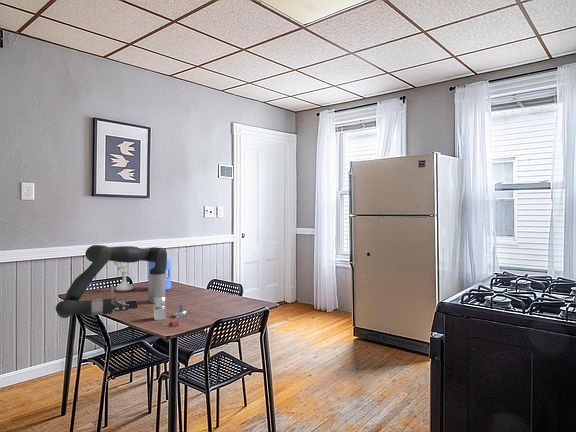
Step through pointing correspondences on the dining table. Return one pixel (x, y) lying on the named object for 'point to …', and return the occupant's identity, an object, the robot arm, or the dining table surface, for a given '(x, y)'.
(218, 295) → the dining table surface
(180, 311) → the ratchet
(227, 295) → the dining table surface
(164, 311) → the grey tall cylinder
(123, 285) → the flower in vase
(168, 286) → the water jug
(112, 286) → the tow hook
